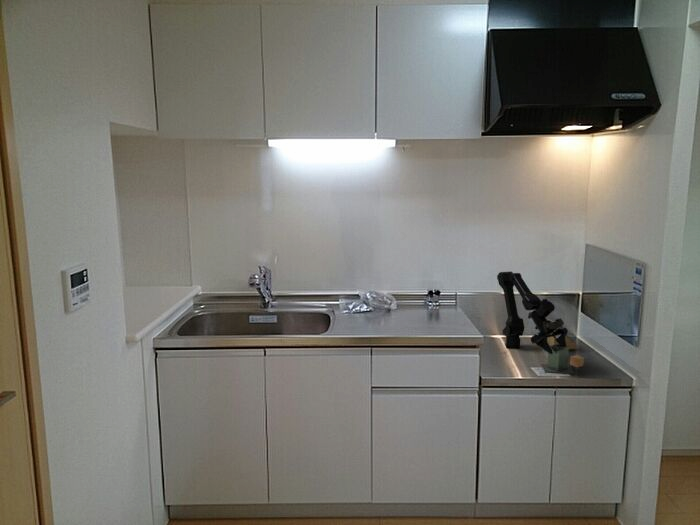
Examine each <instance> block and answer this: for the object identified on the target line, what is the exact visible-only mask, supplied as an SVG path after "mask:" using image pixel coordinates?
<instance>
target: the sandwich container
mask: <svg viewBox="0 0 700 525" xmlns="http://www.w3.org/2000/svg"><path fill="white" fill-rule="evenodd" d="M546 319H547V320H550V321H551V322H555V321H554V320H551V319H549V318H547V317H546ZM557 329H559V328H557ZM555 331H556V330H555ZM555 331H554V332H555ZM555 339H556V338H554V337H548V338H547V342H548V344H549V346H552V345H557V344H558V343H557V342H556V340H555ZM565 341H566V346H567V348H569V350H576V349H580V347H579V346H578V345H577V344H576V343H575V342H574V341H573V339H571V337H570V336H569V335H568V334H567V335H566V336H565ZM558 345H559V344H558Z"/></svg>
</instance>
